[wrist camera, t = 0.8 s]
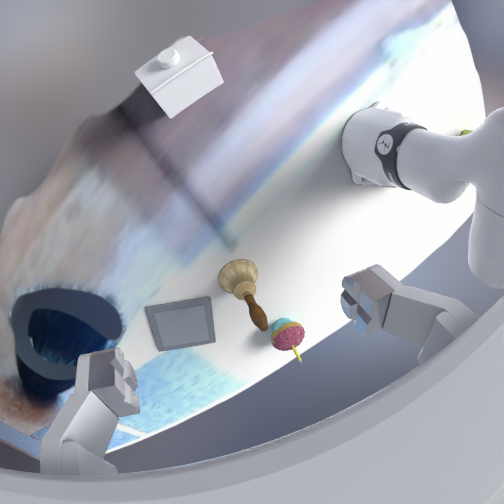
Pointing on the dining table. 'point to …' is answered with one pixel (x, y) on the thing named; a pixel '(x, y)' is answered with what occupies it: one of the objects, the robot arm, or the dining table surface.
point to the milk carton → (180, 75)
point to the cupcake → (287, 335)
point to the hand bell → (243, 288)
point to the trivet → (182, 323)
